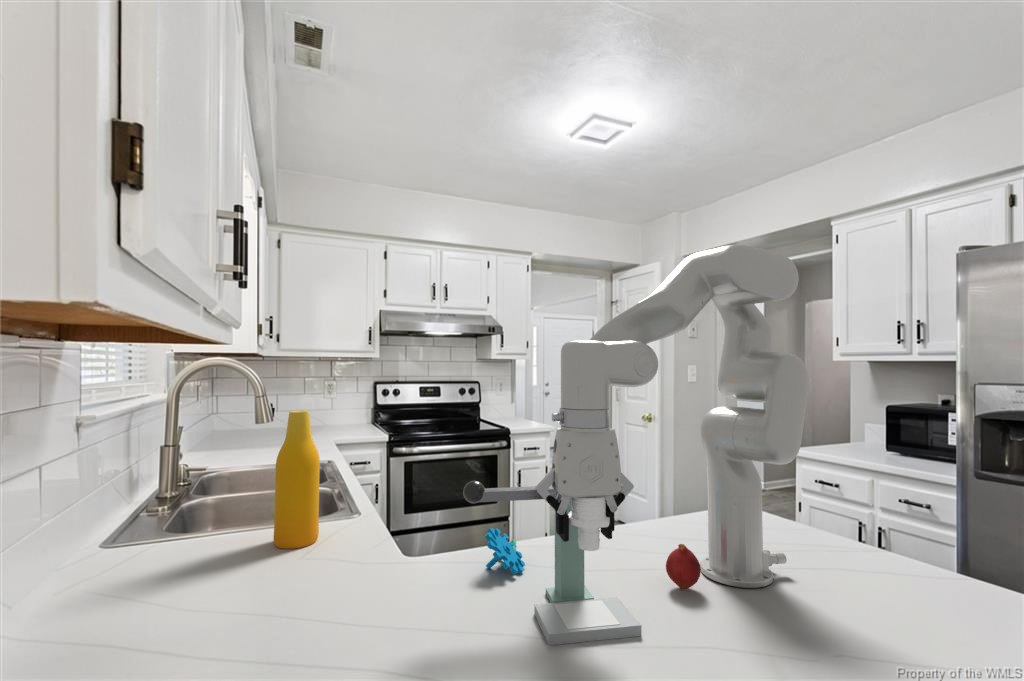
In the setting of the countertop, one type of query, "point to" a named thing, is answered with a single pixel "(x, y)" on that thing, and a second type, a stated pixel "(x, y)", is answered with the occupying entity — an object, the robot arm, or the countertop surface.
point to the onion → (683, 567)
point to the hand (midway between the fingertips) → (585, 536)
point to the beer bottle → (297, 486)
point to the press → (579, 602)
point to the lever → (501, 493)
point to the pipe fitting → (589, 520)
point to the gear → (504, 551)
